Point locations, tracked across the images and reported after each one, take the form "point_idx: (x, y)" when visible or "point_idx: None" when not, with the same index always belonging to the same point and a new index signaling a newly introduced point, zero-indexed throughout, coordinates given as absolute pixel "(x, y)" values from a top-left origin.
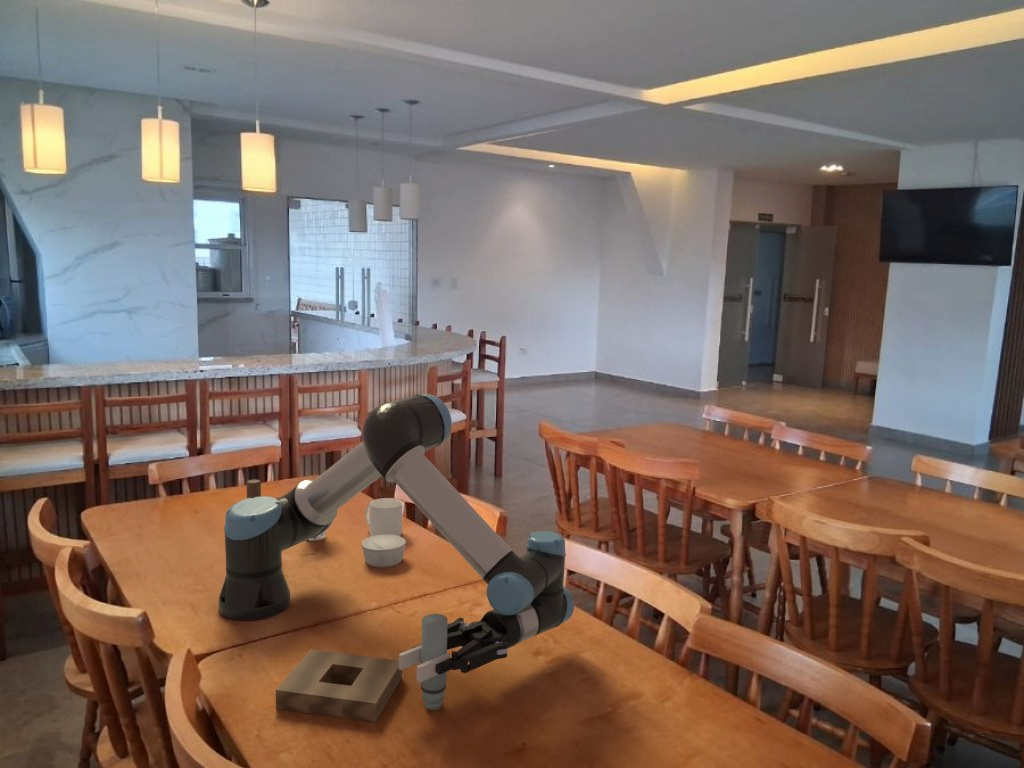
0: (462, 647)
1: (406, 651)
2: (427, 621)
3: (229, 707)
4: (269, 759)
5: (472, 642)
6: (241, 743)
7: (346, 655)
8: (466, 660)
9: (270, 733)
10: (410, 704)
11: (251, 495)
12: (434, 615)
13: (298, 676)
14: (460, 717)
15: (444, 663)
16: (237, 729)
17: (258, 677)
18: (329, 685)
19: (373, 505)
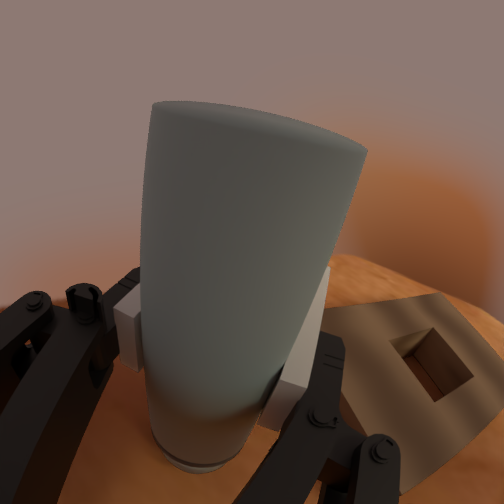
0: (55, 399)
1: (324, 285)
2: (287, 119)
3: (450, 302)
4: (334, 255)
5: (4, 477)
6: (381, 266)
7: (490, 412)
8: (27, 297)
9: (378, 283)
10: (257, 430)
11: None
12: (319, 140)
13: (460, 325)
14: (94, 418)
15: (128, 285)
16: (407, 280)
17: (496, 352)
18: (412, 326)
19: None
